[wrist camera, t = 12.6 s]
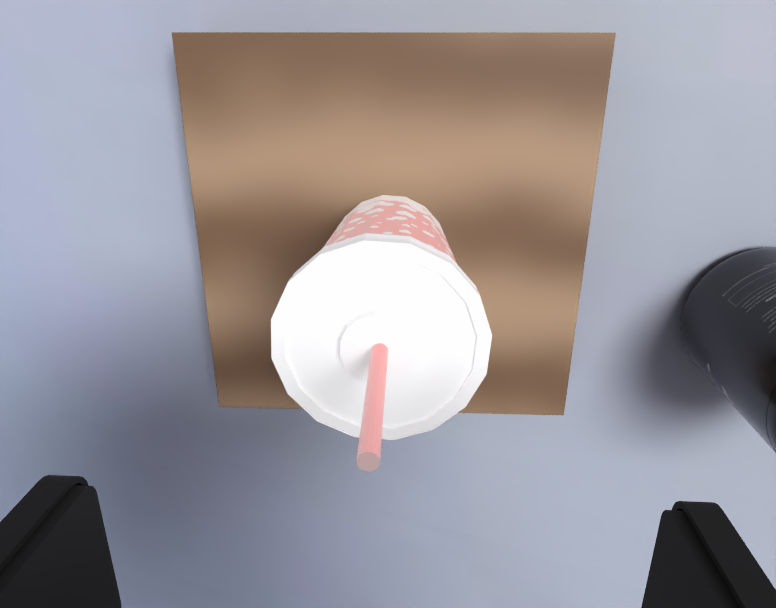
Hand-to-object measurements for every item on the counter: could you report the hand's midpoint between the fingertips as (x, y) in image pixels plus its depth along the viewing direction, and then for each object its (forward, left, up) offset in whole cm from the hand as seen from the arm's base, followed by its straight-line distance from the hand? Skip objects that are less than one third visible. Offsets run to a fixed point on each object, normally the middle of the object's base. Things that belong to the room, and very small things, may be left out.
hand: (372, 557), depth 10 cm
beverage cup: (0, 0, -16) cm, 16 cm away
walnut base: (0, 0, -19) cm, 19 cm away
